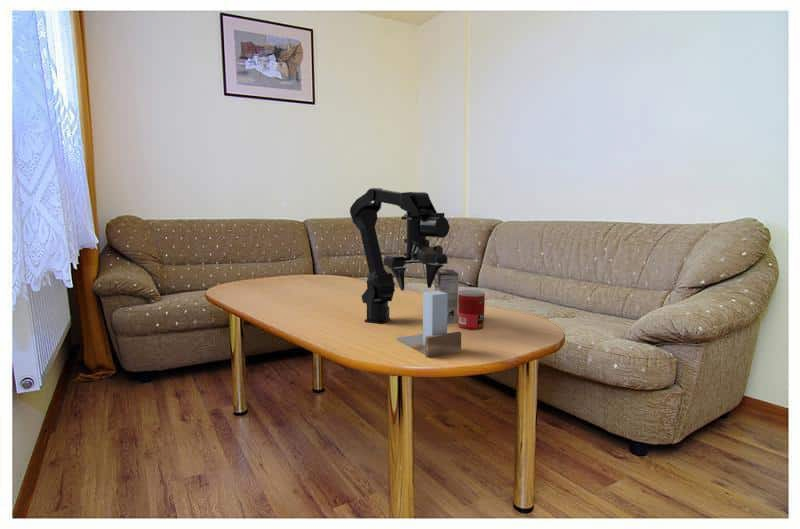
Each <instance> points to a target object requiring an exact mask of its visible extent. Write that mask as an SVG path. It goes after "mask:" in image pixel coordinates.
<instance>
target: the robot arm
mask: <svg viewBox="0 0 800 529" xmlns="http://www.w3.org/2000/svg"><path fill="white" fill-rule="evenodd" d="M382 204H388V205H393V206H397V207H399V208H400V209H401V210H403V211H405V213H404V215H402V217H401V220H404V221H405V220H406V238H404V241H403V242H404V243H405V244H406V252H404V254H403V256H401V255H397V254H393V255H385V257H384V258H383V257H382V253H381V249H380V245H379V240H378V236H377V232H376V231H377V230H376V225H377V221H378V212H379V211H381V209H382ZM349 213H350V214H349V215H350V218H351V220H352V222H353V225H354V226H356V228H357V229H358V230H359V232H360V236H361V241H362V246H363V250H364V255H365V260H366V263H367V269H368V277H367V279H366V289H365V291H364V292H363V294H362V295H361V300H362V303H363V304H366V318H365V319H364V322H367V323H375V324H384V323H385V322H388V321H389V320H391V317H390V306H389V302H392V300H393V297H394V293H395V288H396V287H395V286H396V284H395V280H394V278H395V279H396V281H397V284H398V286H399V289H400V290H401V291H405V272H406V269H407V268H406V267H404V266H405V265H407V264H408V265H409V264H420V263H421V264H422V265H425V274H426V276H425V277H426V285H427V288H428V289H430V288H432V285H433V283H434V281H435V275H436V273H437V271H438V270H439V269H441V268H443V267H445V265H447V264H448V262H449V258H448V256H447V255H446V253H444V251H443V250H444V249H443V246H442V245H435V246H430V240H429V239H427V237H429V238H438V239H444V238H446V237H447V236H448V234H449V232H450V228H451V227H450V224H449V221H448V218H446V217H445V212H437V210H436V208H435V206H434V204H433V202H432V201H431V198H430V195H429V193H428V192H423V191H422V192H420V191H419V192H418V191H405V192H399V191H393V190H387V189H383V188H378V187H377V188H375V187H371V188H369V189H368V190H367V191H366V192H365V193H364V194H362V195H361V196H359V197H358V198H357V199H355V201H353V203H352V204H351V206H350V208H349ZM444 264H445V265H444ZM385 267H387V268H388V269H390V270H391V272H392V273H391V272H390V273H389V272H387V271H386V269H385Z"/></svg>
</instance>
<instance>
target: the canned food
mask: <svg viewBox="0 0 800 529" xmlns="http://www.w3.org/2000/svg"><path fill="white" fill-rule="evenodd" d="M485 298H486V297H485V291H482V290H479V289H478V290H477V289H461V290H460V291H459V290H458V317H457V325H458V328H460V329H463V330H466V329H468V330H469V331H476V330H477V329H479V330H482V329H483V328H484V327H485V300H486V299H485Z"/></svg>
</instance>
